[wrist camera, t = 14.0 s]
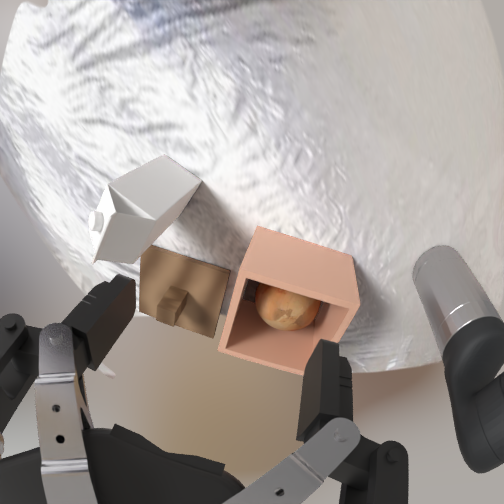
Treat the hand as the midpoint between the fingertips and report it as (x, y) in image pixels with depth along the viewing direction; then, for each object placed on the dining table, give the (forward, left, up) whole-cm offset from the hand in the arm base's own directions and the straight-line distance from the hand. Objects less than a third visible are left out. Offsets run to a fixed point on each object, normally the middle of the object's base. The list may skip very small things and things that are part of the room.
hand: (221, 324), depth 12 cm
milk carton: (+15, +8, -33) cm, 37 cm away
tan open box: (-6, +18, -33) cm, 38 cm away
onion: (-6, +18, -33) cm, 38 cm away
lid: (+11, +27, -32) cm, 44 cm away
